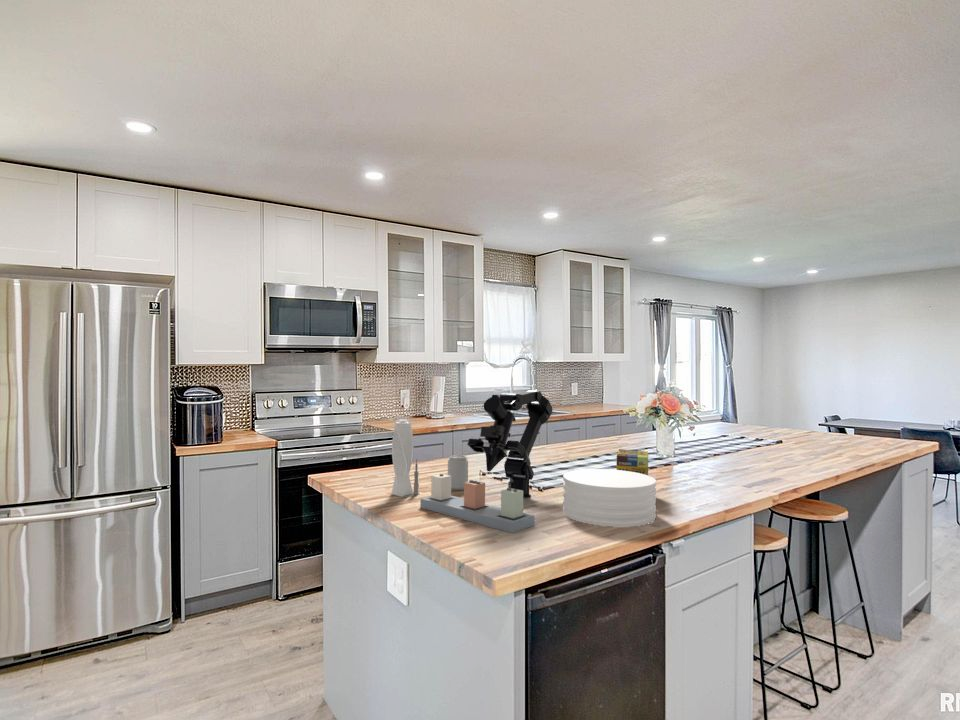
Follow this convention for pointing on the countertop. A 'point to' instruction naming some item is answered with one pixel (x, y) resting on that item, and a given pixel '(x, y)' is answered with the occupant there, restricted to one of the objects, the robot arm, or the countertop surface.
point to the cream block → (441, 486)
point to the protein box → (632, 461)
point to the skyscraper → (403, 459)
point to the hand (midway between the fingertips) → (488, 470)
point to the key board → (478, 514)
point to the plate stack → (609, 497)
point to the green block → (511, 503)
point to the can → (458, 471)
